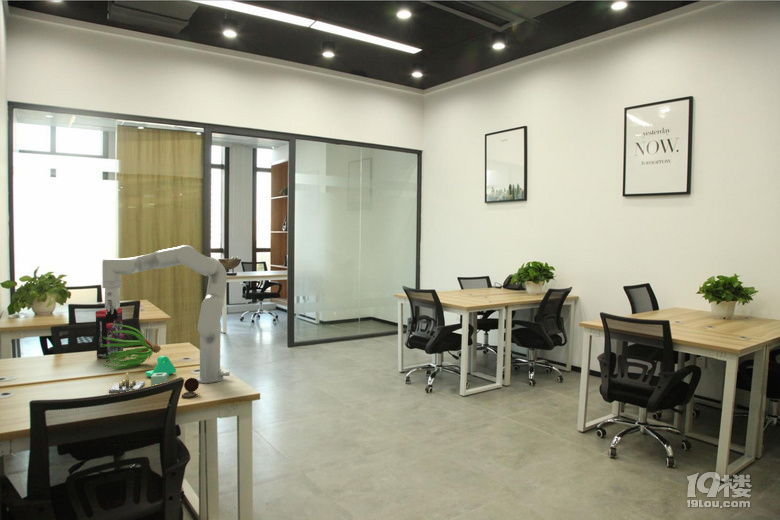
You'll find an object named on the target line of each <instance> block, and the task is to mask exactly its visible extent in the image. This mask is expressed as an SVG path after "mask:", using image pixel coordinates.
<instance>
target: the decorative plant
mask: <svg viewBox="0 0 780 520" xmlns="http://www.w3.org/2000/svg"><path fill="white" fill-rule="evenodd" d="M111 325H112V324H111ZM114 325H120V324H114ZM120 326H123V327H124V328H127V329H123V330H116V331H112V332H113V333H115V332H120V333H123V334H128V335H132V336H134V337H136V338H137V339H138V340H132V339H131V340H128V339H127V340H124V339H123V340H119V339H114V338H110V339H107V340H112V341H116V342H119V343H120V342H123V343H121V344H104V345H106V346H111V347H112V349H114V348H113V347H123V349H124V350H123V351H117V352H118V353H115V352H113V353H115V354H112V355H108V356H105V357H109V358H107V360H106V361H105V363H106V364H105V363H100V364H101V365H103V366H104V367H106V368H107V369H111V370H123V369H129V368H132V367H137V366H140V365H141V364H143V363H144V362H145V361H146V360H147V359H148V360H150V357H151V356H152V355H153V353H155V354H158V353H160V351H161V349H162V348H161V346H160V345H159V344H157V343H156V344H152V342H151V341H149V340H148V339H147V338H146V337H145V336H144V334H143V333H142V332H141V331H140V330H139V329H138V328H136V327H133V326H130V325H126V324H123V325H120ZM128 329H131V330H128ZM114 330H115V329H114ZM133 330H134V331H133ZM117 336H118V335H117ZM105 338H106V337H105ZM105 338H103V339H105ZM102 345H103V344H102ZM106 346H102V347H106ZM133 346H134V347H135V346H143V347H135V348H132V349H126V347H133ZM106 354H107V353H106ZM110 356H112V357H110ZM103 358H104V357H103ZM126 358H128V359H126ZM111 363H112V364H115V365H118V366H112V365H111V366H110V365H109V364H111Z"/></svg>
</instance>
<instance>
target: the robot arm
mask: <svg viewBox="0 0 780 520" xmlns="http://www.w3.org/2000/svg"><path fill="white" fill-rule="evenodd" d="M179 265H183V266H185V267H187V268H189V269H190V270H193V271H194V272H196V273H198V274H199V275H202V276H205V277H208V282H207V289H206V294H205V298H203V300H202V302H201V305H200V311H199V317H198V323H197V333H198V334H199V376H197V377H196V378H195V379H197V380H198V382H199V384H211V383H212V384H213V383H218V382H221V381H223V380H224V377H230V371H224V370H222V368H221V338H222V337H221V335H222V333H221V332H222V323H221V318H222V312H223V308H224V304H225V294H226V290H227V289H226V288H227V281H228V280H227V279H228V278H227V277H228V276H227V270H226V268H225V267H224V265H223V264H222V263H221V262H220V261H219V260H218V259H217V258H214V257H211V256H210V257H209V256H206V255H204V254H202V253H201V252H199V251H197V250H196V248H194V247H193V246H192V245H188V244H187V245H180V246H177V247H171V248H166V249H161V250H157V251H155V252H152V253H149V254H144V255H138V256H134V257H126V258H117V257H115V258H114V257H106V258H103V260H102V271H101V272H102V276H101V277H102V284H101V285H102V289H104V308H105V309H106V323H114V320H117V319H118V311H117V309H118V308H121V307H120V306H121V301H120V289H121V287H122V274H123V275H132V274H136V273H140V272H145V271H150V270H154V269H157V270H158V269H166V268H170V267H174V266H179Z"/></svg>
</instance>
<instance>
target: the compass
mask: <svg viewBox="0 0 780 520" xmlns="http://www.w3.org/2000/svg"><path fill="white" fill-rule="evenodd" d="M183 386H184V387H183V388H184V390H186V392H183V394H182V395H181V398H183V399H194V398H196V397H197V396H199V393H196V392H195V391H197V390H198V389H199V386H200V382H198V380H197V379H196V378H195V377H189V378H187V379H186V380H185V382H184V385H183Z"/></svg>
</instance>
